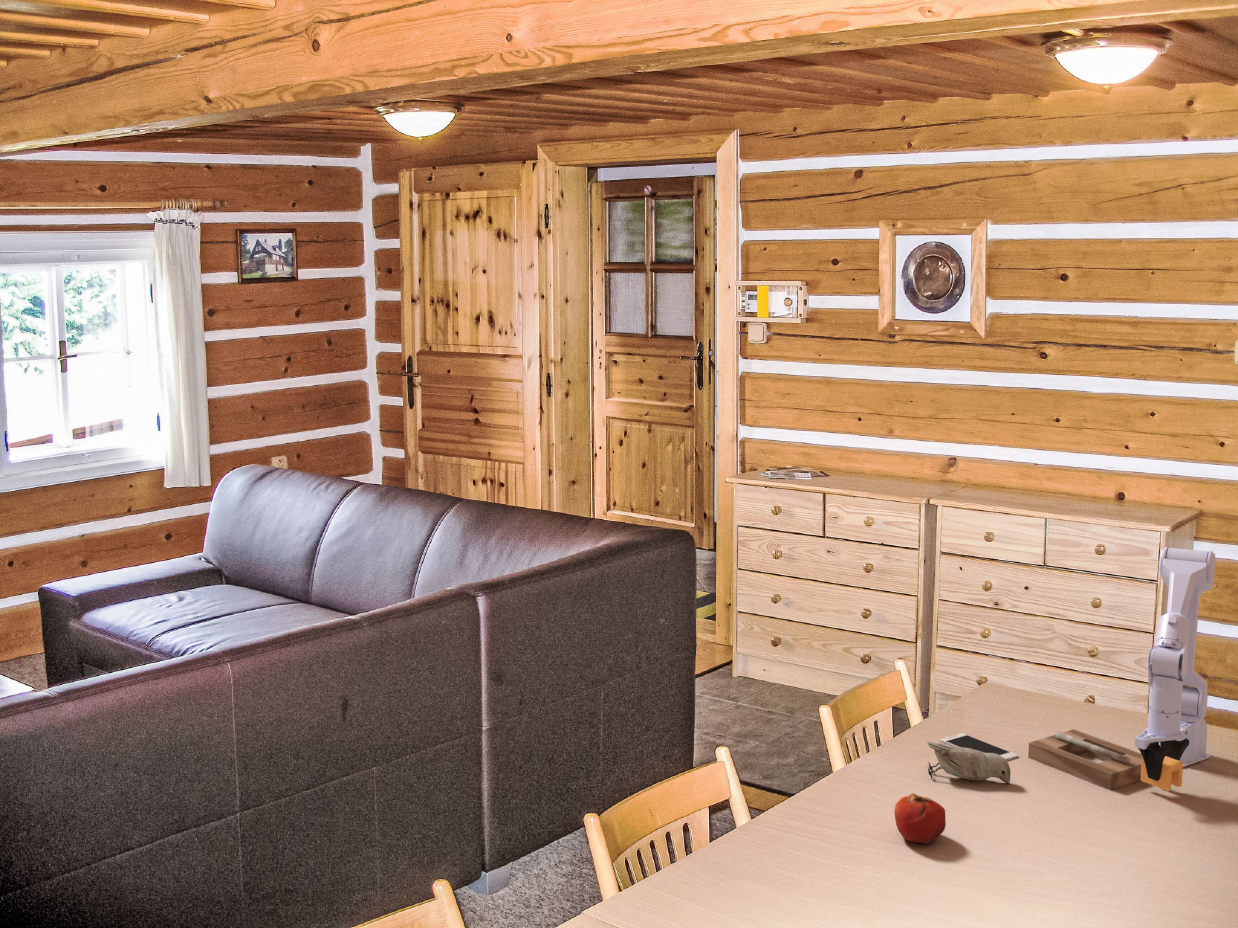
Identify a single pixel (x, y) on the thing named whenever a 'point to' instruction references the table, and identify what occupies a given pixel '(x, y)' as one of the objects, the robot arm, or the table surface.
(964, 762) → the decorative bird
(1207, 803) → the table surface
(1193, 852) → the table surface
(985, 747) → the smartphone
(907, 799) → the tomato
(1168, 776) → the orange notched block
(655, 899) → the table surface
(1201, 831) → the table surface
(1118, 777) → the wooden slotted rail base
